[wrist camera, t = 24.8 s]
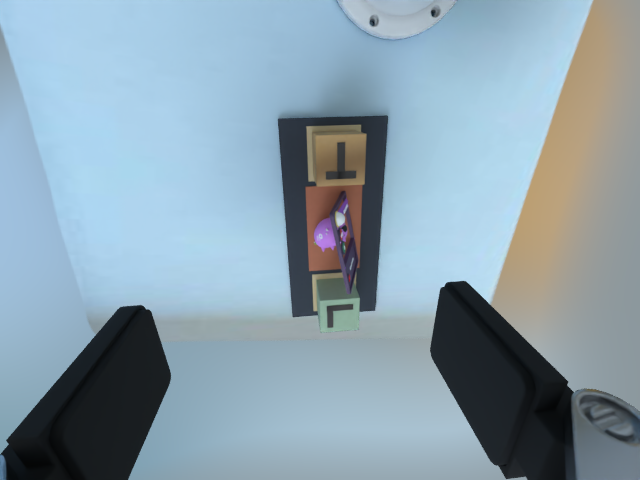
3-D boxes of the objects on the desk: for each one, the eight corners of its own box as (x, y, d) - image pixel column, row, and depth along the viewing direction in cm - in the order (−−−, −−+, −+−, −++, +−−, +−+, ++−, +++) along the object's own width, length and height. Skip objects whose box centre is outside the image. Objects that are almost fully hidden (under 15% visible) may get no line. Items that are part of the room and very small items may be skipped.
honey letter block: (311, 131, 29) (315, 135, 25) (356, 130, 30) (366, 133, 26) (313, 176, 31) (316, 187, 27) (354, 174, 32) (365, 184, 27)
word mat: (278, 118, 29) (277, 119, 29) (386, 115, 30) (388, 115, 30) (292, 314, 39) (292, 317, 38) (374, 308, 40) (375, 311, 39)
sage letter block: (316, 279, 36) (319, 301, 32) (352, 276, 37) (360, 298, 33) (317, 309, 38) (320, 333, 34) (351, 306, 39) (358, 330, 34)
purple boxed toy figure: (357, 294, 30) (341, 212, 26) (309, 296, 31) (287, 219, 28) (364, 260, 36) (352, 189, 32) (323, 263, 37) (306, 195, 33)
